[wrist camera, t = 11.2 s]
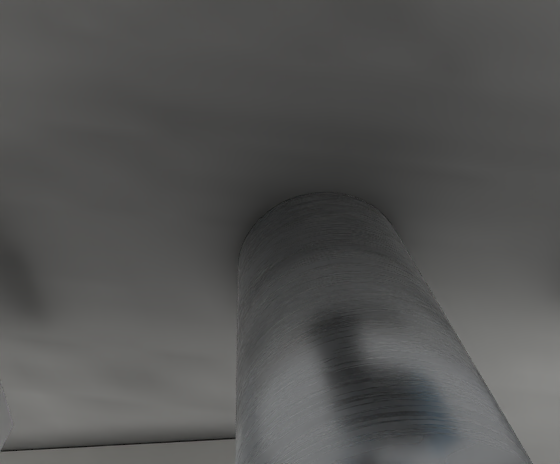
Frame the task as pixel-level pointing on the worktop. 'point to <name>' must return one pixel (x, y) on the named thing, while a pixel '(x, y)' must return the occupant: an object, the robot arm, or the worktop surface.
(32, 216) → the worktop surface
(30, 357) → the worktop surface
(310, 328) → the cylinder
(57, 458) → the scale
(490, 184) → the worktop surface
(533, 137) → the worktop surface
